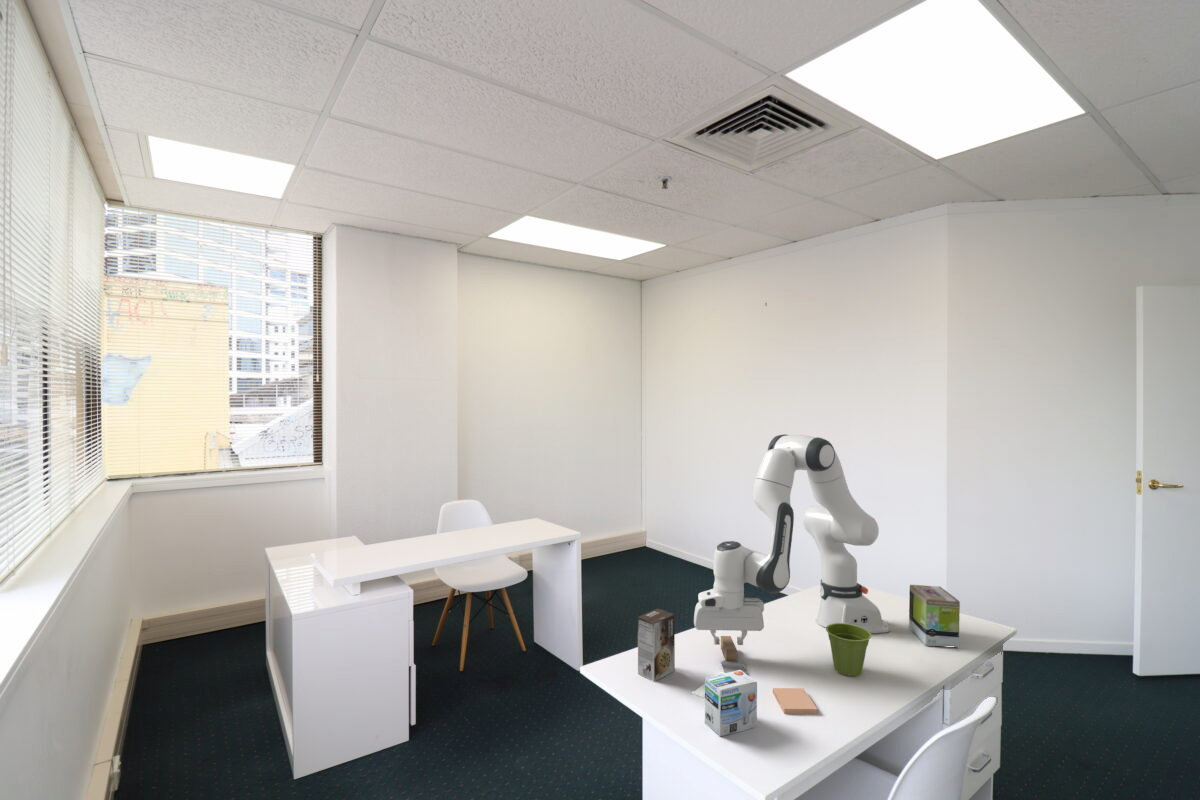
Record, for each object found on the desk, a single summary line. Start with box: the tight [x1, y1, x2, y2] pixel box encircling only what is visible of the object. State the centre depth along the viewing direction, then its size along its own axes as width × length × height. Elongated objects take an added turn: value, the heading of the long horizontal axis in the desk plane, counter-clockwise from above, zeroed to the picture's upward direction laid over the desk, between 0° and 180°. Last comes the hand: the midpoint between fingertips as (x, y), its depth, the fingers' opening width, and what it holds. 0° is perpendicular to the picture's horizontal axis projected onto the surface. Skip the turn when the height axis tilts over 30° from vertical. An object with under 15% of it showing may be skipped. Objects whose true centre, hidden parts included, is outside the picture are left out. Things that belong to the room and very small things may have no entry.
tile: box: [772, 687, 818, 715], centre depth 147 cm, size 8×2×10 cm
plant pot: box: [825, 623, 873, 677], centre depth 164 cm, size 12×12×11 cm
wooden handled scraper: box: [720, 635, 748, 675], centre depth 169 cm, size 17×6×4 cm, turn 177°
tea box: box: [908, 584, 961, 648], centre depth 186 cm, size 15×10×15 cm
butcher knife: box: [691, 671, 724, 700], centre depth 155 cm, size 5×15×1 cm, turn 139°
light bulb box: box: [704, 670, 758, 737], centre depth 137 cm, size 11×7×11 cm, turn 114°
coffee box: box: [637, 608, 676, 682], centre depth 162 cm, size 9×6×16 cm
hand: (728, 644), depth 173 cm, fingers open, 5 cm apart
